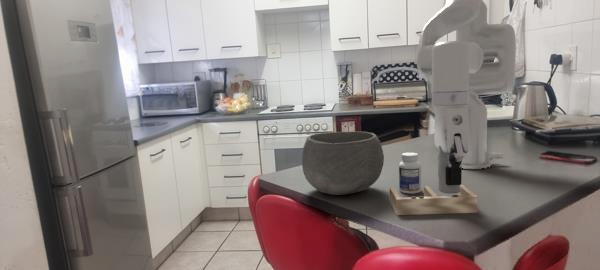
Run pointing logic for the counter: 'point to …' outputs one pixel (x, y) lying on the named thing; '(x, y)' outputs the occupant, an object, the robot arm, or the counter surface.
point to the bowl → (342, 161)
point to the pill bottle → (410, 174)
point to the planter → (442, 174)
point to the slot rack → (434, 203)
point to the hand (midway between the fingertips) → (449, 180)
